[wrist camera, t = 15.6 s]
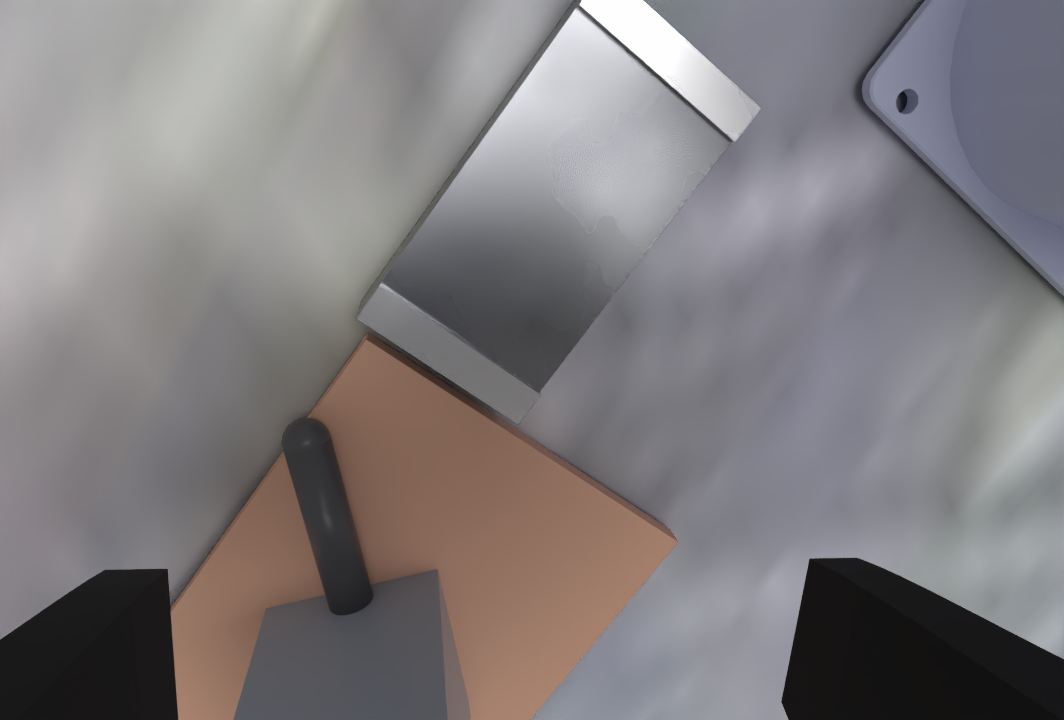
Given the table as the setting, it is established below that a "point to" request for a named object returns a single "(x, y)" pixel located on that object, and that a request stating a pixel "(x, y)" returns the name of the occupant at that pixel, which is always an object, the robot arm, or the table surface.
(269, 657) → the plug
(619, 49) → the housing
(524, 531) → the mat
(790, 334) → the table surface
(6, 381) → the table surface
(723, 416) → the table surface
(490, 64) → the table surface
